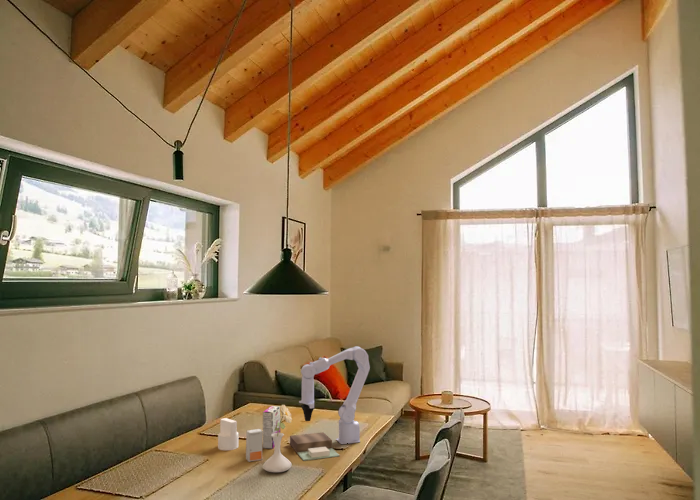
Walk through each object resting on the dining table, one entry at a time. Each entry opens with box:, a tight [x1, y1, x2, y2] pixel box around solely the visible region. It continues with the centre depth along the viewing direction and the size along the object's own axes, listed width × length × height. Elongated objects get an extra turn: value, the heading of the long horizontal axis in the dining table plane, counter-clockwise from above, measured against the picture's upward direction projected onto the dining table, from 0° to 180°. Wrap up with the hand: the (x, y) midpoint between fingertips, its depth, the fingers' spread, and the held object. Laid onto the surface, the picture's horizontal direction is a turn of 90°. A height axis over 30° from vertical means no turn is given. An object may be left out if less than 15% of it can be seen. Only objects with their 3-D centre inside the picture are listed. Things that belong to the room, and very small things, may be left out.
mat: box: [296, 447, 341, 462], centre depth 229 cm, size 16×10×1 cm, turn 110°
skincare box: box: [245, 428, 263, 463], centre depth 223 cm, size 6×4×12 cm
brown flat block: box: [289, 431, 333, 453], centre depth 240 cm, size 16×13×4 cm
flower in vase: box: [262, 404, 293, 473], centre depth 212 cm, size 13×11×25 cm
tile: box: [308, 447, 330, 458], centre depth 228 cm, size 8×6×2 cm
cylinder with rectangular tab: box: [217, 417, 239, 451], centre depth 240 cm, size 9×9×12 cm
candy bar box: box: [262, 405, 281, 450], centre depth 243 cm, size 11×5×16 cm, turn 168°
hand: (307, 420), depth 245 cm, fingers closed
